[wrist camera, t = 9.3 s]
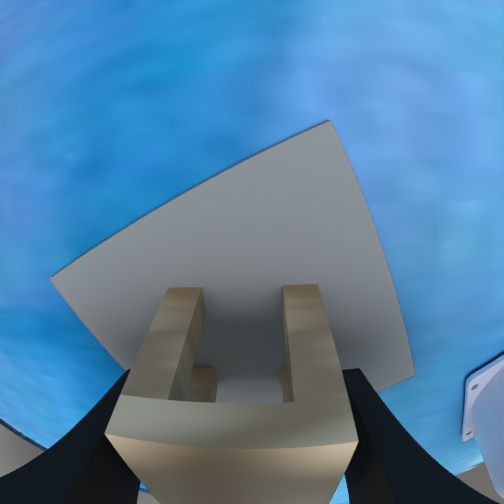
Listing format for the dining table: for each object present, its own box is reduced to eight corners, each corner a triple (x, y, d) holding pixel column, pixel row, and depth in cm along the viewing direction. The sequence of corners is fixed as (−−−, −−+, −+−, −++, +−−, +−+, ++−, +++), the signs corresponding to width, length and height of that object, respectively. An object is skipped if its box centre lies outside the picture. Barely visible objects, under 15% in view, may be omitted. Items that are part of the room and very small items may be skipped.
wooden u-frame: (317, 283, 11) (358, 441, 5) (308, 384, 13) (323, 513, 7) (168, 287, 11) (104, 433, 5) (191, 385, 13) (165, 509, 7)
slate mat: (413, 369, 13) (415, 374, 13) (203, 436, 16) (202, 441, 15) (328, 120, 9) (330, 120, 8) (54, 274, 11) (49, 278, 11)
